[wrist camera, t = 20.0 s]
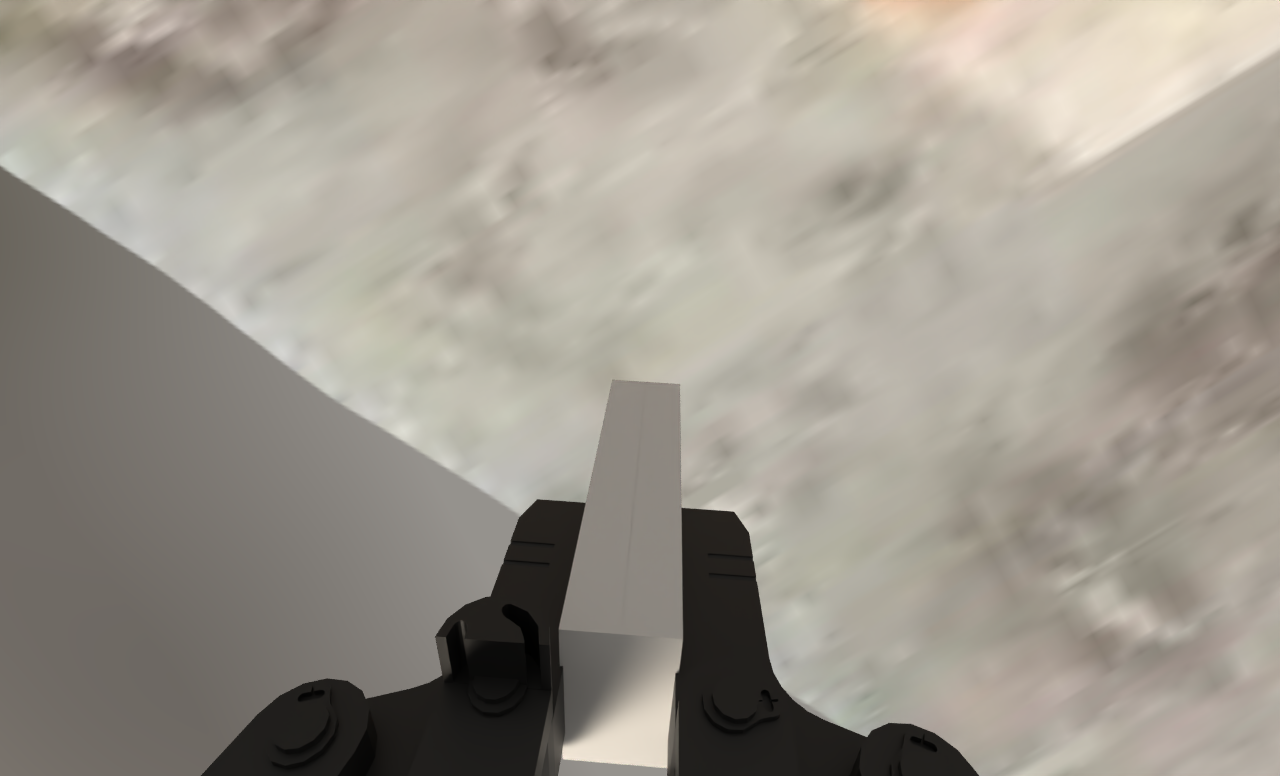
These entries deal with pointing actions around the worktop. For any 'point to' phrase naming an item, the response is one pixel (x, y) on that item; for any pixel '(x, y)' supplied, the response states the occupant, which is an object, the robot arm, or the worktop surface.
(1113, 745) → the worktop surface
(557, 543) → the robot arm
